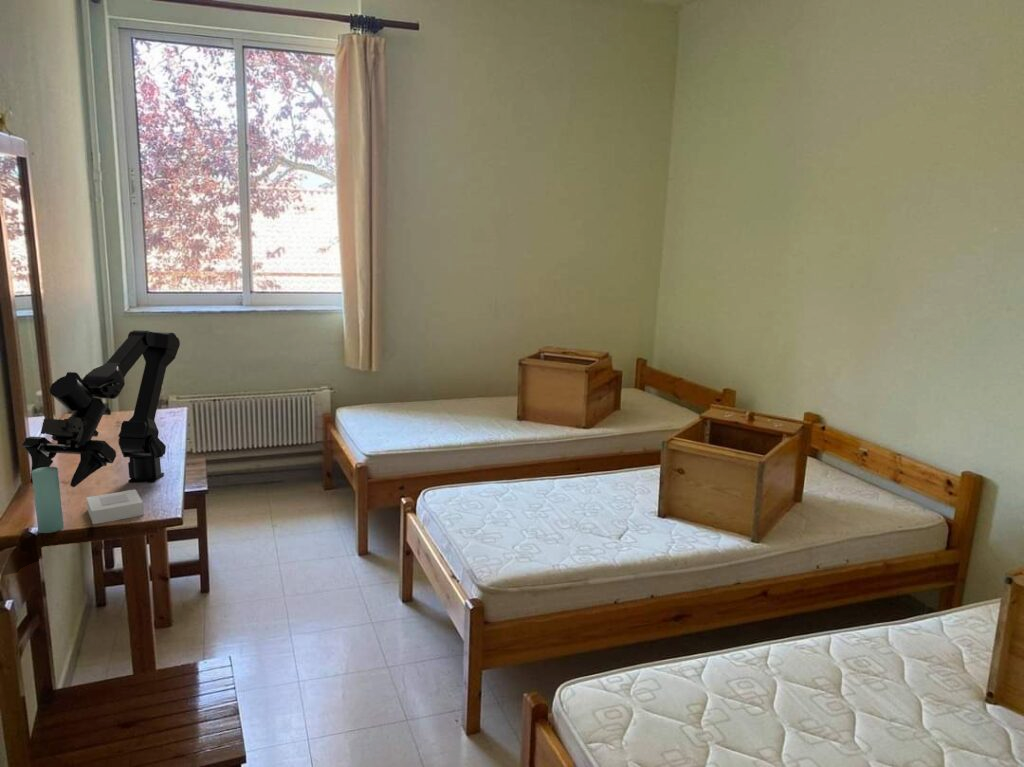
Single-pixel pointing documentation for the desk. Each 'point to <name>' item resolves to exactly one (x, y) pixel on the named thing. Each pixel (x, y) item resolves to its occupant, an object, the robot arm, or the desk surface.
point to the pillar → (47, 499)
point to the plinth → (114, 506)
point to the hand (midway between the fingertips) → (52, 485)
